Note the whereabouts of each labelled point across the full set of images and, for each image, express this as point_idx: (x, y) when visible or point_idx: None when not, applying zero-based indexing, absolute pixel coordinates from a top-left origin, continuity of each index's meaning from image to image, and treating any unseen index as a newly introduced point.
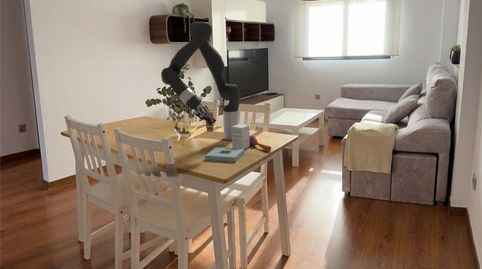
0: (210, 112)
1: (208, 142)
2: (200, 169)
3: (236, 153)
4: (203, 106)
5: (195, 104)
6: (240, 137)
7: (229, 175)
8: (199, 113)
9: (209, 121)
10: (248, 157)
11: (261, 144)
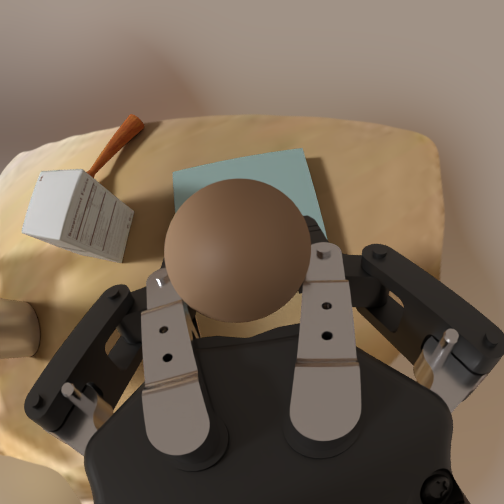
0: (278, 194)
1: None
2: (423, 234)
3: (249, 166)
4: (187, 414)
5: (461, 496)
6: (106, 200)
7: (411, 132)
8: (449, 304)
9: (318, 228)
10: (224, 145)
11: (108, 148)
